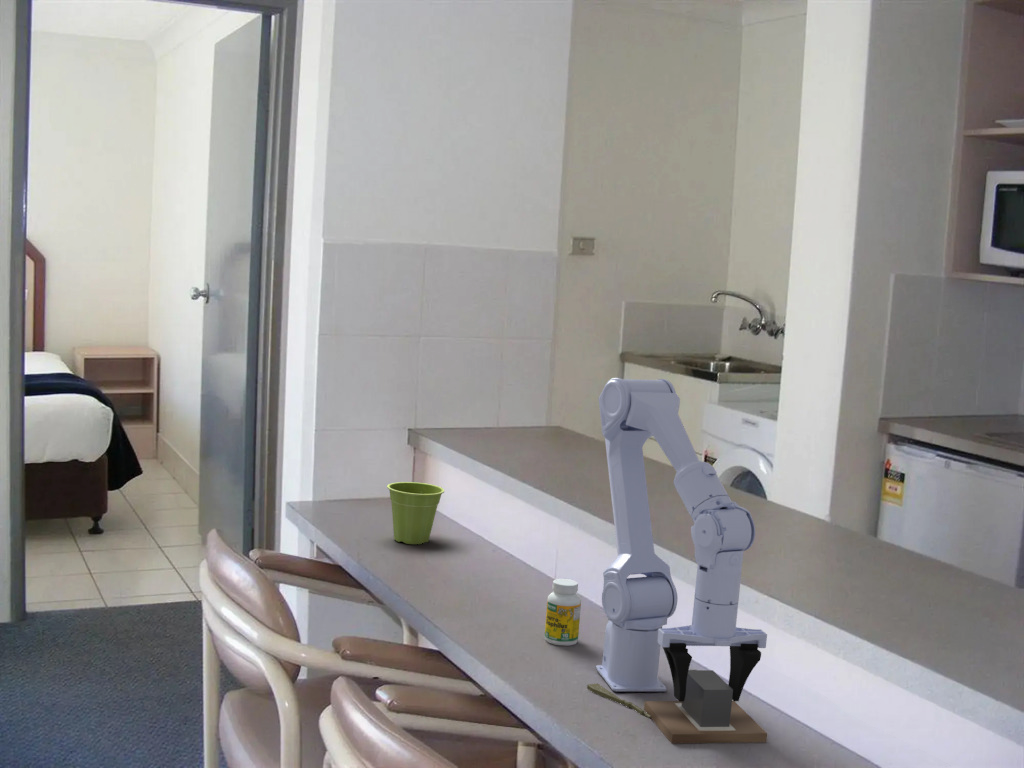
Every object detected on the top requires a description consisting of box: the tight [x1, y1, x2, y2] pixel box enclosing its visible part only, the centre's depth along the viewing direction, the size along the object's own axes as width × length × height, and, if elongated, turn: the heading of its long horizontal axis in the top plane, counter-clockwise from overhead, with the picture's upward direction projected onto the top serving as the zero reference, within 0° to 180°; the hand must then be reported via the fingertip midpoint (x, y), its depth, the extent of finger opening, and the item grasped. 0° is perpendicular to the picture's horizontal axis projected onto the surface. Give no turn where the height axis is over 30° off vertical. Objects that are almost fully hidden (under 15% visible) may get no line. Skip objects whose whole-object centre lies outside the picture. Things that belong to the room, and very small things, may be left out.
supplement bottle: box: [544, 578, 582, 647], centre depth 183 cm, size 5×5×10 cm
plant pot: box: [386, 481, 445, 545], centre depth 240 cm, size 12×12×11 cm
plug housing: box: [681, 669, 733, 727], centre depth 154 cm, size 9×4×5 cm, turn 12°
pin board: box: [643, 700, 768, 744], centre depth 154 cm, size 11×13×4 cm
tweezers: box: [586, 683, 651, 719], centre depth 160 cm, size 12×2×1 cm, turn 36°
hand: (706, 698), depth 153 cm, fingers open, 7 cm apart
